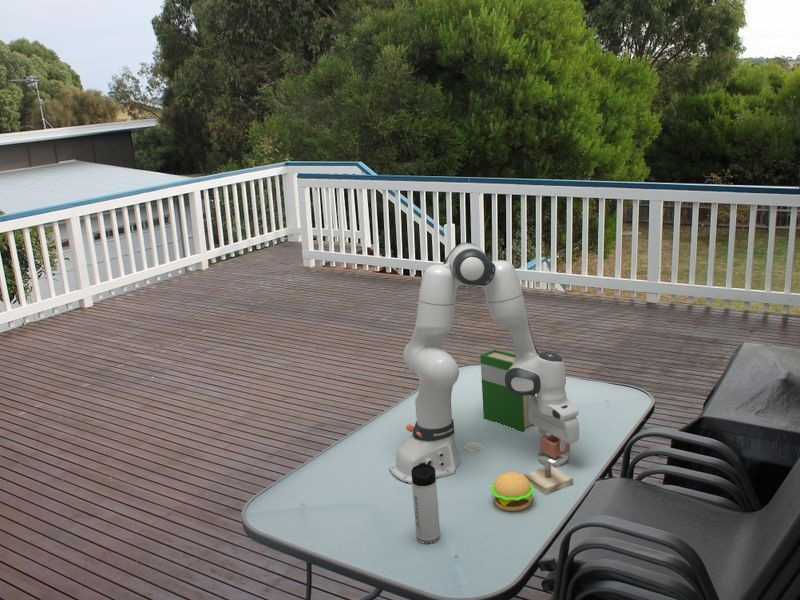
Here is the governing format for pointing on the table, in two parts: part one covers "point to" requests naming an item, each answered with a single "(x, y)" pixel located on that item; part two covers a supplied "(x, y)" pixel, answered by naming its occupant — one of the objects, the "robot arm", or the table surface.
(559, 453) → the brown square ring block
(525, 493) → the hamburger
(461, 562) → the table surface
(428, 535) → the travel mug
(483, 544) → the table surface
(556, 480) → the stand
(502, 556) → the table surface
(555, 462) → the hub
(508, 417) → the hardback book
